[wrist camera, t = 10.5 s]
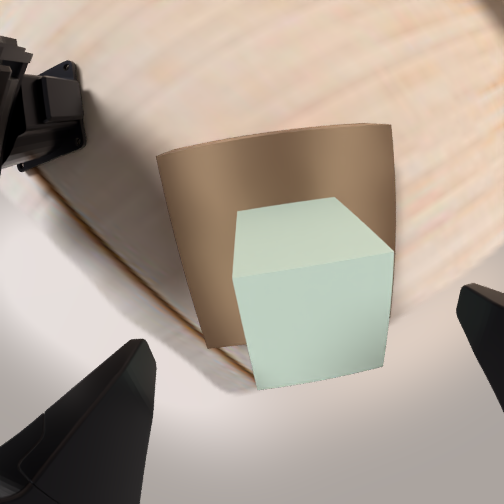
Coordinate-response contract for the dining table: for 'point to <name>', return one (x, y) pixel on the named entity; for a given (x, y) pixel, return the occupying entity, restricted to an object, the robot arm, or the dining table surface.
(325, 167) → the walnut base
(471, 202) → the dining table surface
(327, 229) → the sage block
